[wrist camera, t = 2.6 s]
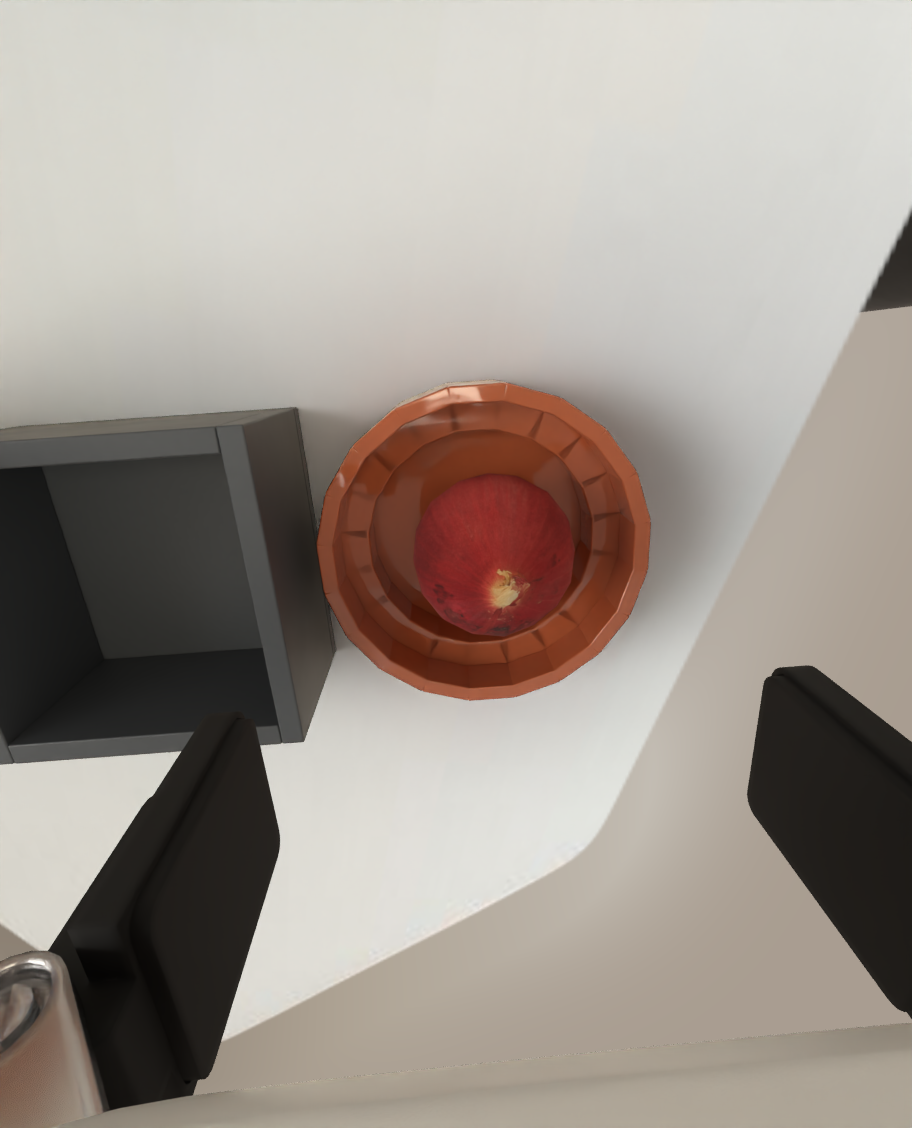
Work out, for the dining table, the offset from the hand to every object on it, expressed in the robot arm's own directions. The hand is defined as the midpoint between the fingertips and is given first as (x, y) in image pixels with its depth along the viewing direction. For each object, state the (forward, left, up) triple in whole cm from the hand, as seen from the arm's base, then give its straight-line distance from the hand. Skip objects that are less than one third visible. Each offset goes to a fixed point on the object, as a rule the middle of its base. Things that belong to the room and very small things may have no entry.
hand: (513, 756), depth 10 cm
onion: (-1, 0, -15) cm, 15 cm away
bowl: (0, 0, -15) cm, 15 cm away
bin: (+12, 0, -15) cm, 19 cm away
